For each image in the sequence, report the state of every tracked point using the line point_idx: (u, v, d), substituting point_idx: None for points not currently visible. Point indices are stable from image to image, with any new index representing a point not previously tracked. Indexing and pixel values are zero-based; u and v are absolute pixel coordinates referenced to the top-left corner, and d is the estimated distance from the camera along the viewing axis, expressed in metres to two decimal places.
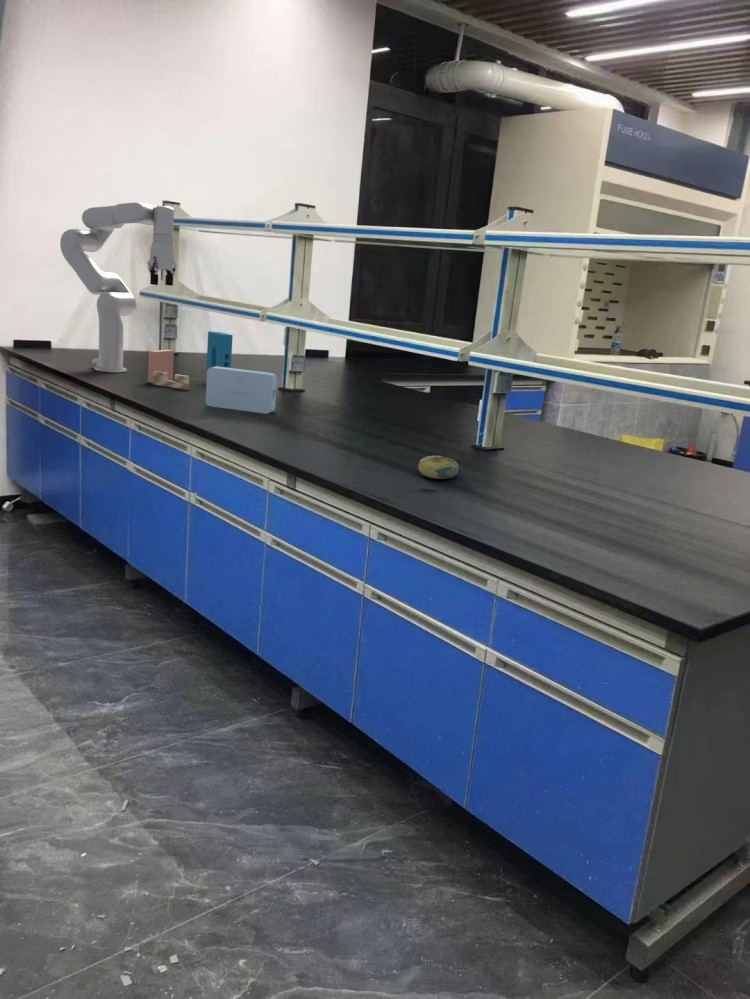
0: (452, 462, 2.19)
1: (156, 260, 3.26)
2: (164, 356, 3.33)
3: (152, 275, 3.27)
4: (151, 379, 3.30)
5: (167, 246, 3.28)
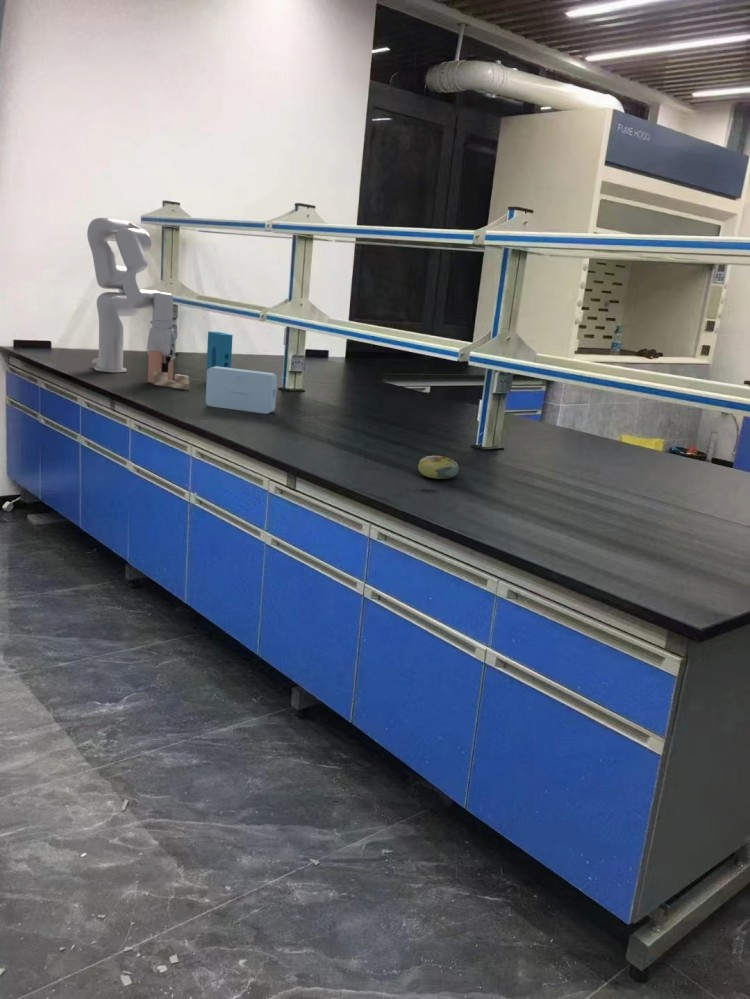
0: (452, 462, 2.19)
1: (173, 347, 3.31)
2: None
3: (166, 364, 3.33)
4: (151, 379, 3.30)
5: None
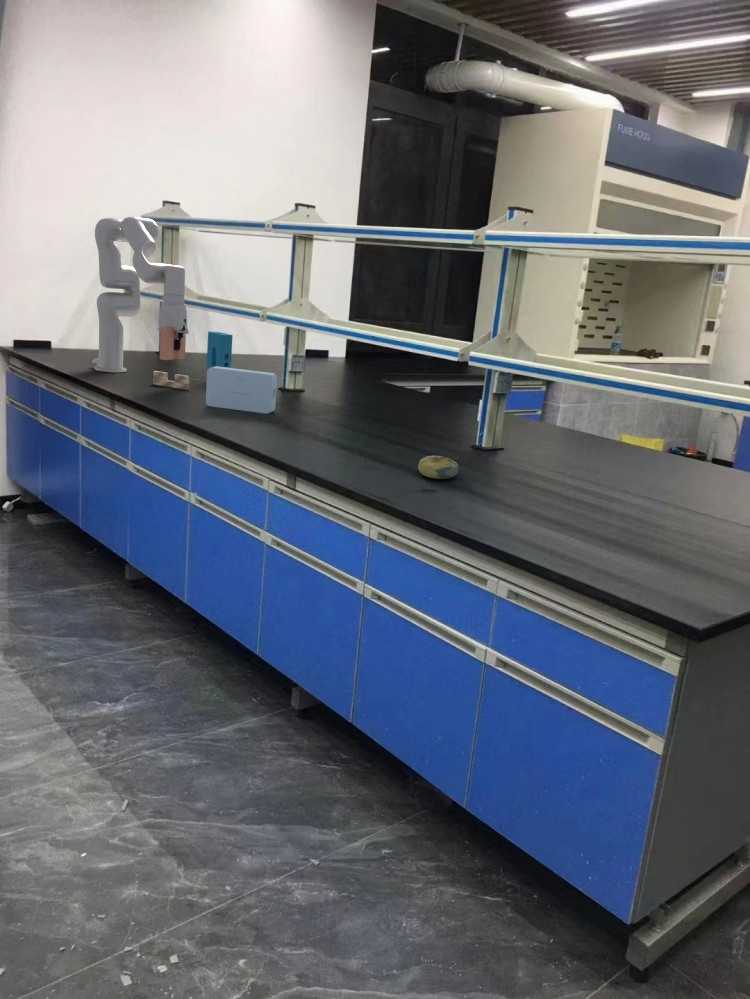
0: (452, 462, 2.19)
1: (186, 322, 3.18)
2: None
3: (179, 341, 3.19)
4: (163, 356, 3.16)
5: None
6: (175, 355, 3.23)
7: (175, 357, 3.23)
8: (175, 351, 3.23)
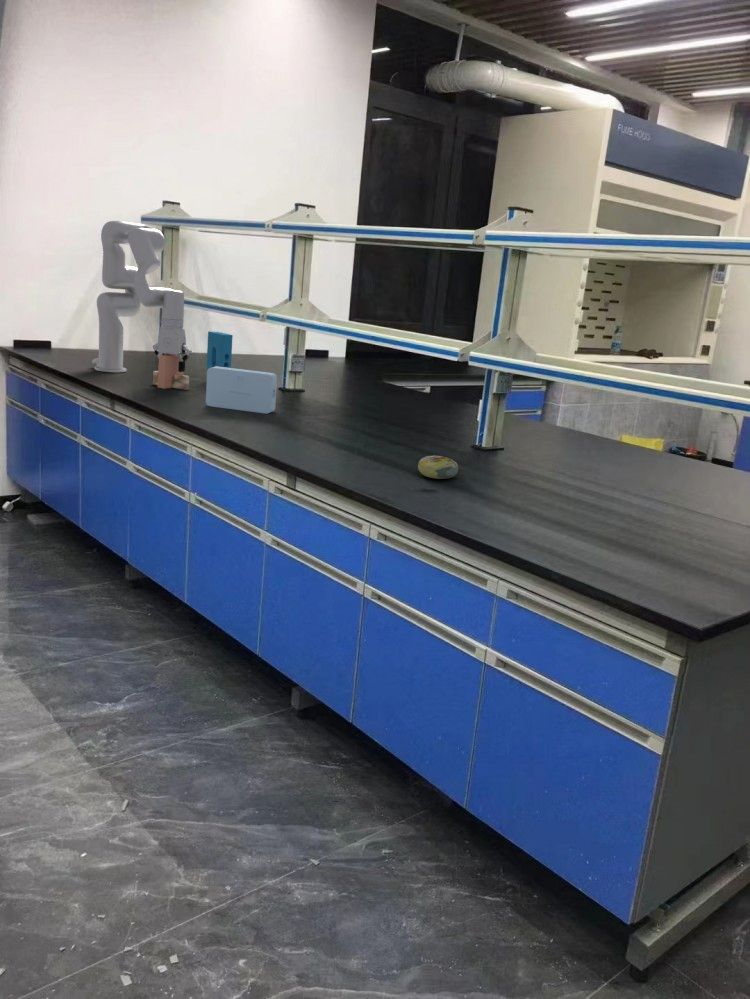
0: (452, 462, 2.19)
1: None
2: (174, 361, 3.22)
3: (183, 363, 3.20)
4: (161, 384, 3.19)
5: None
6: None
7: None
8: (173, 379, 3.26)
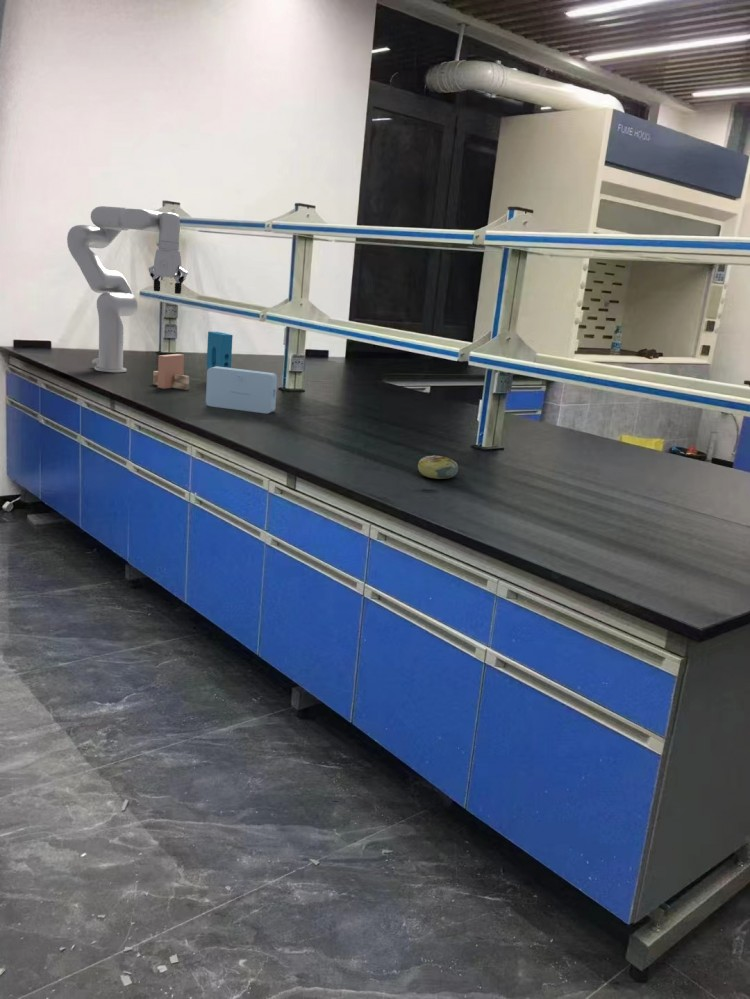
0: (452, 462, 2.19)
1: None
2: (174, 360, 3.22)
3: (179, 284, 3.28)
4: (161, 384, 3.19)
5: None
6: None
7: None
8: (173, 379, 3.26)
